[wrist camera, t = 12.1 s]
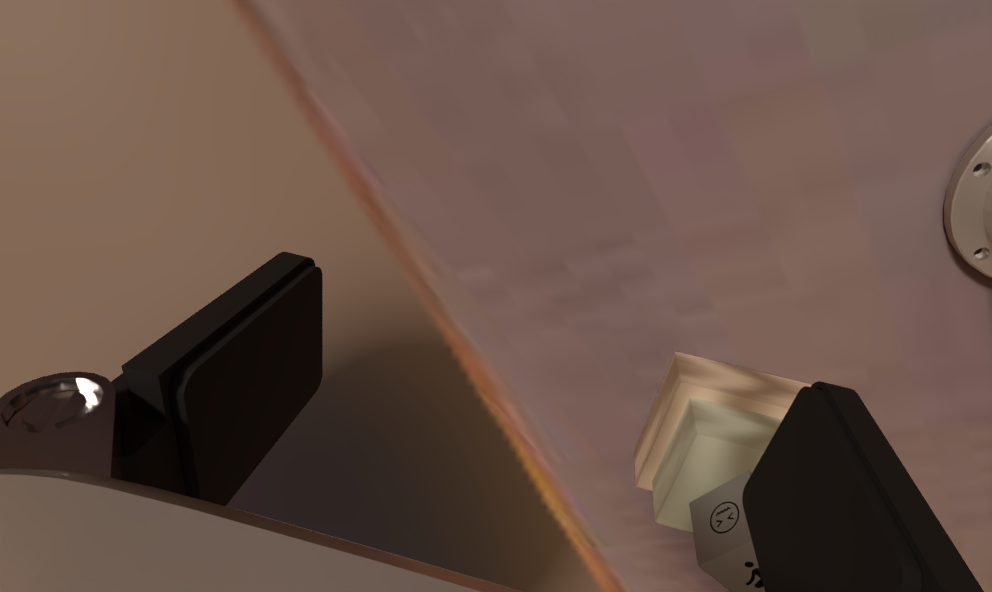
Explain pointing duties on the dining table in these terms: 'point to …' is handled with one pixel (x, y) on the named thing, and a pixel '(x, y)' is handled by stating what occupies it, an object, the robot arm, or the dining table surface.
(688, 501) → the cream layered block
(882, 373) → the dining table surface
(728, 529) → the dice cube
